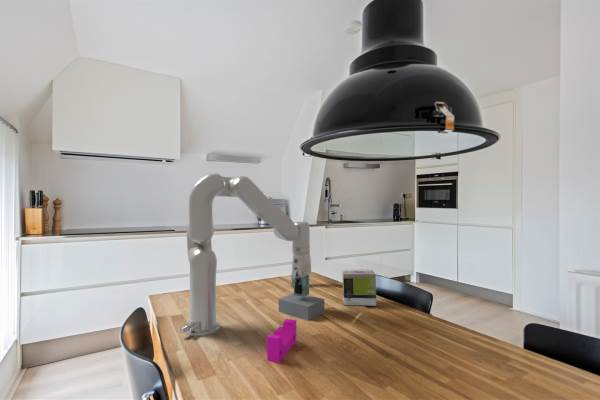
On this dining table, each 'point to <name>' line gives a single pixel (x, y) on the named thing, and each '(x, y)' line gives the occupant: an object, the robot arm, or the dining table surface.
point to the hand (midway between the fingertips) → (301, 291)
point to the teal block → (303, 287)
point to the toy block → (281, 341)
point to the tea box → (359, 287)
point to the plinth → (301, 306)
